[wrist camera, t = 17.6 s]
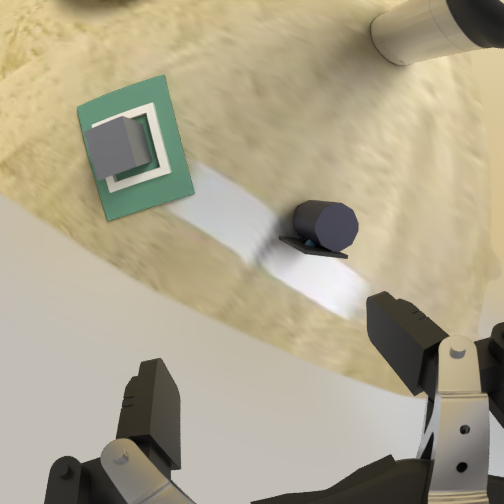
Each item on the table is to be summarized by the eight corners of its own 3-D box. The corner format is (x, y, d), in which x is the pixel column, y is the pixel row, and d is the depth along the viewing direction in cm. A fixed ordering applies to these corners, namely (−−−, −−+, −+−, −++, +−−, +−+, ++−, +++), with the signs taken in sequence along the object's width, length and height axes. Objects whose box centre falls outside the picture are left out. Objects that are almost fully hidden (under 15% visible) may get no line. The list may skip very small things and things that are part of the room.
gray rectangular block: (112, 134, 32) (84, 131, 23) (142, 123, 32) (122, 114, 23) (123, 171, 34) (98, 180, 25) (153, 161, 34) (136, 166, 25)
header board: (80, 107, 31) (72, 105, 28) (165, 76, 32) (162, 71, 29) (110, 219, 37) (104, 224, 34) (194, 192, 38) (194, 195, 35)
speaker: (310, 256, 43) (342, 278, 33) (277, 238, 42) (302, 256, 32) (335, 211, 42) (373, 221, 32) (304, 191, 41) (336, 195, 31)
